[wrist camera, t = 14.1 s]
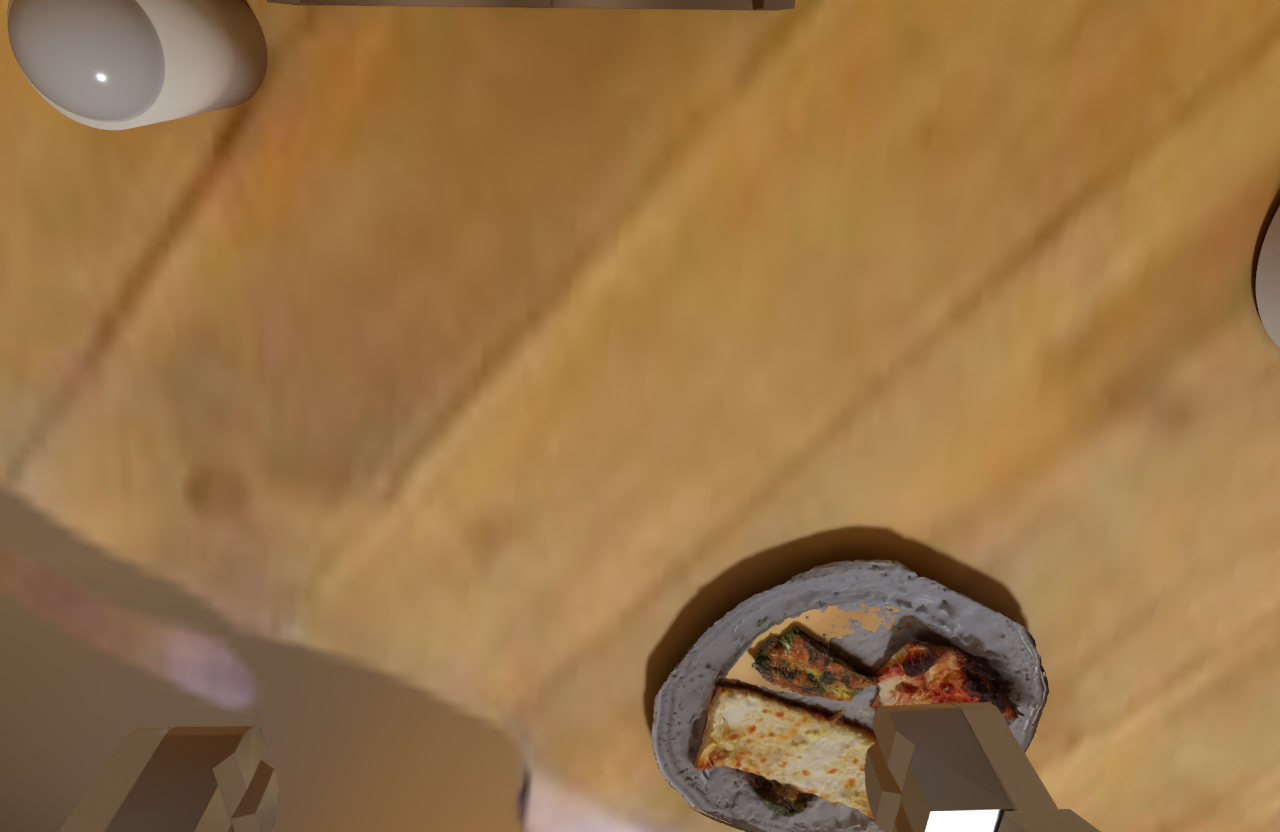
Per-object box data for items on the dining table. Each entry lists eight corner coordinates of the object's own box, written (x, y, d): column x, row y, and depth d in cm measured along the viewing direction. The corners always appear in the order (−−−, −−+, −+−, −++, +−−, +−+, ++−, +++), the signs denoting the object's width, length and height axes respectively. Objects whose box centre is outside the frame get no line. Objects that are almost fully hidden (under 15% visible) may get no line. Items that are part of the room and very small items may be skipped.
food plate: (1104, 651, 50) (1137, 692, 47) (883, 854, 59) (897, 901, 55) (787, 490, 44) (799, 525, 41) (594, 743, 53) (592, 788, 50)
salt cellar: (253, -24, 31) (115, -45, 22) (277, 109, 33) (160, 138, 24) (126, -27, 31) (-65, -49, 22) (158, 107, 33) (-3, 136, 24)
